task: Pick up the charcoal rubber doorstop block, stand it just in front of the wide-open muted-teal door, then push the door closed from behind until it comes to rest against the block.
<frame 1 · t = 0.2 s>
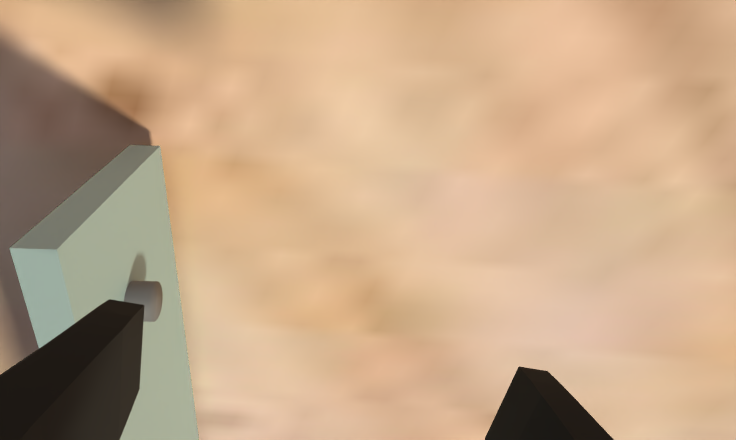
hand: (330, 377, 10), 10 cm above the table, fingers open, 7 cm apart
door: (148, 431, 19), point 4 cm above the table, hinge at 80.0°
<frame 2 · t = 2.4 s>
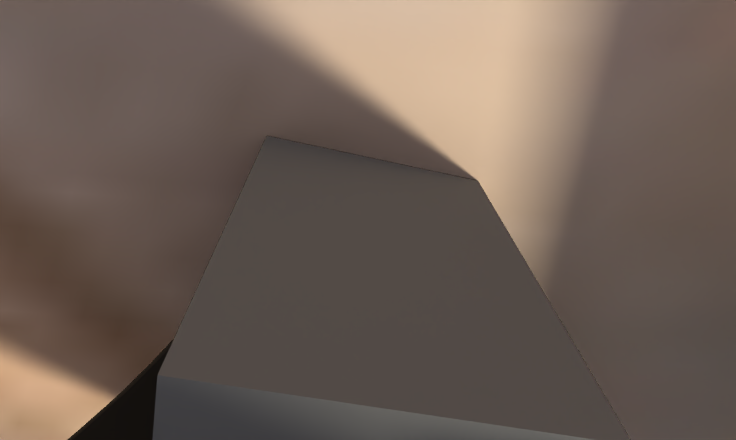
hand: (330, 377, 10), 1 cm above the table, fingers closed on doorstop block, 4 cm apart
doorstop block: (331, 329, 11), on the table, touching gripper
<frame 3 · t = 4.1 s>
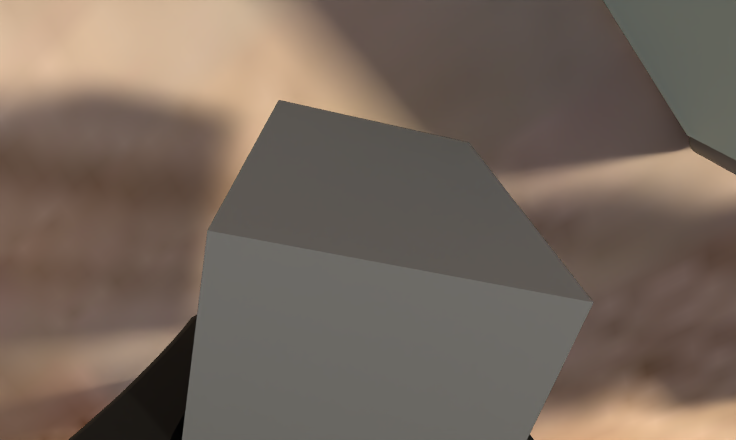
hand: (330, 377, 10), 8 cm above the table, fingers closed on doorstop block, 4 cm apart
doorstop block: (335, 285, 12), point 6 cm above the table, touching gripper
when the fingers open (2 cm above the table, at t = 5.9 s): doorstop block stays where it is, on the table.
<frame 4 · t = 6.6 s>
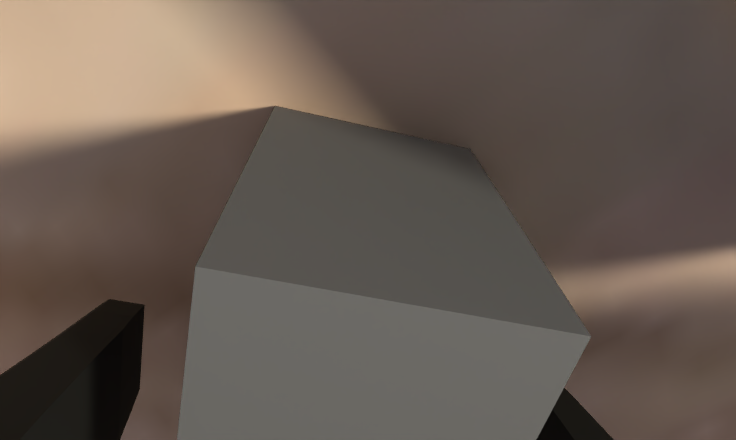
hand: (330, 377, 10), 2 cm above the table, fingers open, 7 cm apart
doorstop block: (334, 289, 12), on the table
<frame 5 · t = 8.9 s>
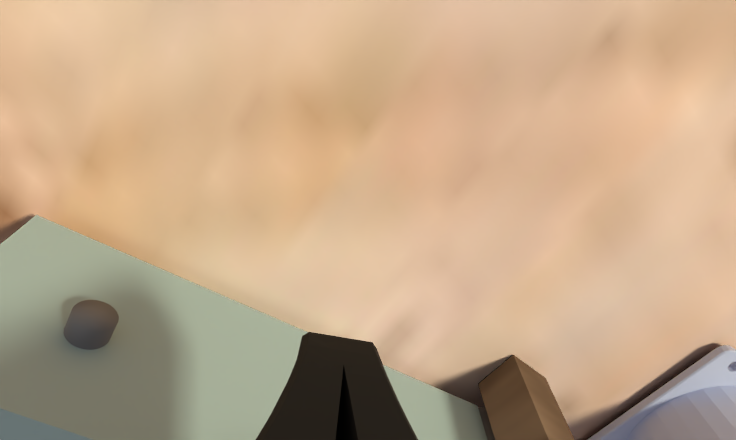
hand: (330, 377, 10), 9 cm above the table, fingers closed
door: (278, 407, 17), point 4 cm above the table, hinge at 80.0°
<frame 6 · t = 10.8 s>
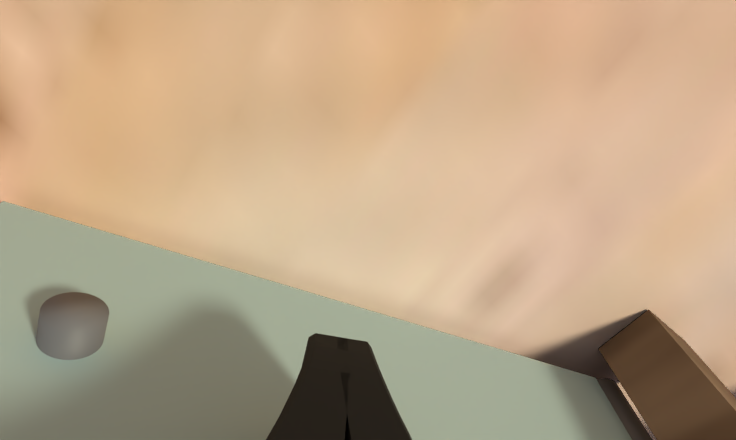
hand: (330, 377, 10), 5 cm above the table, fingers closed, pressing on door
door: (344, 408, 12), point 4 cm above the table, hinge at 71.1°, touching gripper
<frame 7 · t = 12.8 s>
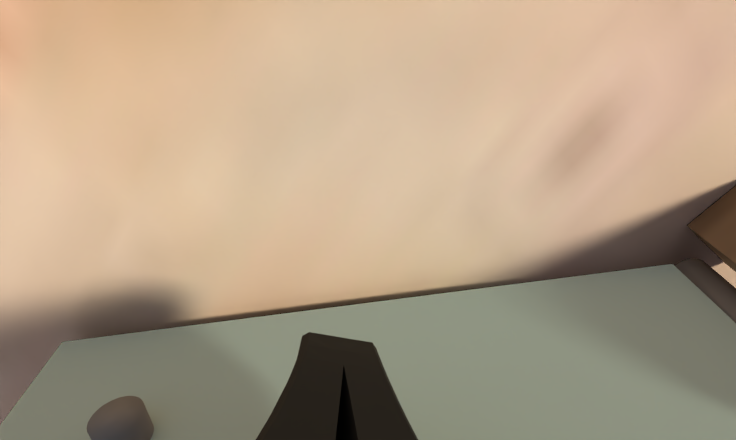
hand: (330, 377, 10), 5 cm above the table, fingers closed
door: (392, 405, 12), point 4 cm above the table, hinge at 42.2°
door frame: (465, 434, 19), on the table
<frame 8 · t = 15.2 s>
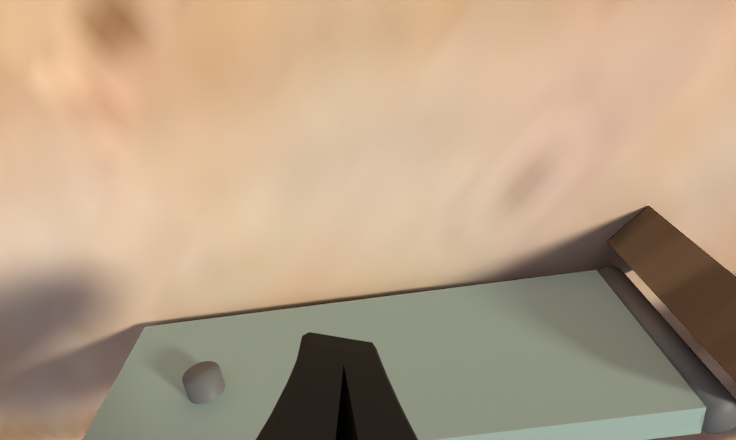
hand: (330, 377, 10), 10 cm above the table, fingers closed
door: (389, 368, 18), point 4 cm above the table, hinge at 42.4°
door frame: (447, 401, 24), on the table
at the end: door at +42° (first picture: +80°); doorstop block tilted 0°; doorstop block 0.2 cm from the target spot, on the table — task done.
